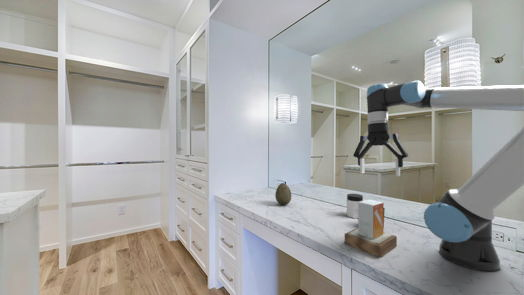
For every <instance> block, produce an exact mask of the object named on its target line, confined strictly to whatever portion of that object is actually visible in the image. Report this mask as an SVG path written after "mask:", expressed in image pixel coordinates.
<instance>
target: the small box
mask: <svg viewBox="0 0 524 295" xmlns="http://www.w3.org/2000/svg"><path fill="white" fill-rule="evenodd" d="M384 208H385V207H384V202H383V201H377V200H373V199H365V200H363V201H362V202H358V219H357V222H358V224H357V226H358V227H357V228H358V234H360V235H362V236H365V237H368V238H371V239H375V238H377V237H379V236H381V235H383V232H384V228H383V210H384ZM384 211H385V210H384Z"/></svg>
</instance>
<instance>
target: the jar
mask: <svg viewBox="0 0 524 295" xmlns="http://www.w3.org/2000/svg"><path fill="white" fill-rule="evenodd" d="M363 198H364V196H363V195H362V194H359V193H348V194H346V216H347V217H348V218H352V219H354V220H355V219H356V220H358V202H362V201H364V199H363Z"/></svg>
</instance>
